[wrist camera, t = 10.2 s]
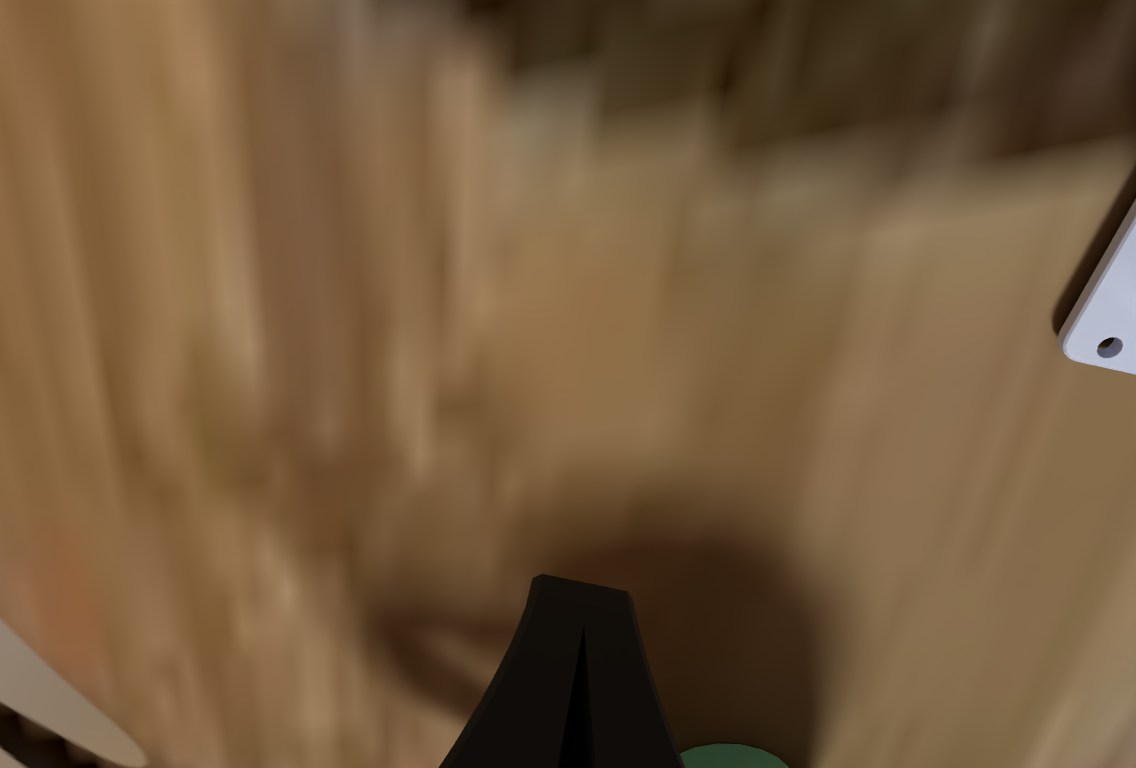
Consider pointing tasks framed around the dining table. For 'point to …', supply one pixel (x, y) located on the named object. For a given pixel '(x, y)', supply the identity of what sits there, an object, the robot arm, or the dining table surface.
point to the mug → (730, 757)
